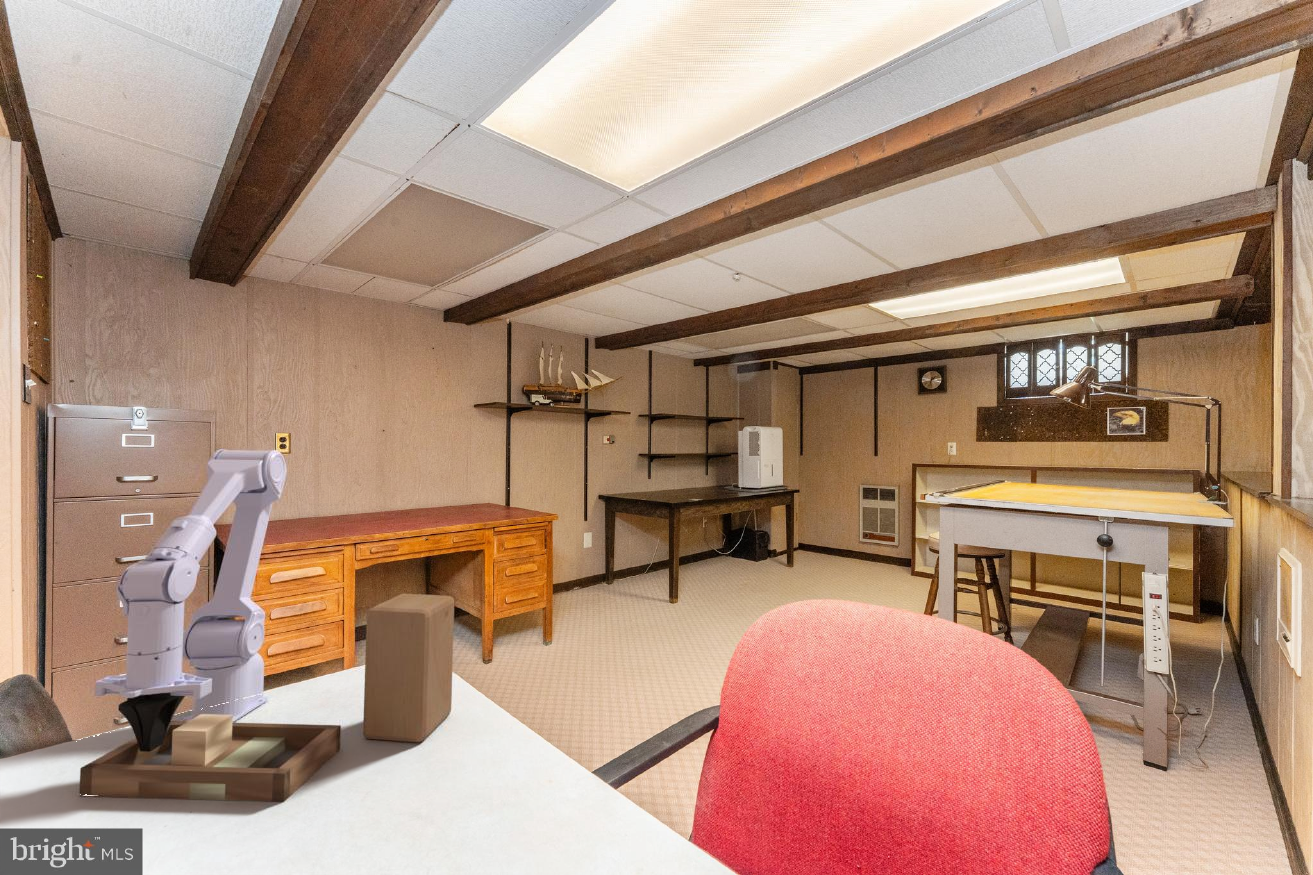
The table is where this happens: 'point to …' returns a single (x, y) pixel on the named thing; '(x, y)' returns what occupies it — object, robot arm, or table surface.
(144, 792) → the box
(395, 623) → the wooden block
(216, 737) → the maple block
